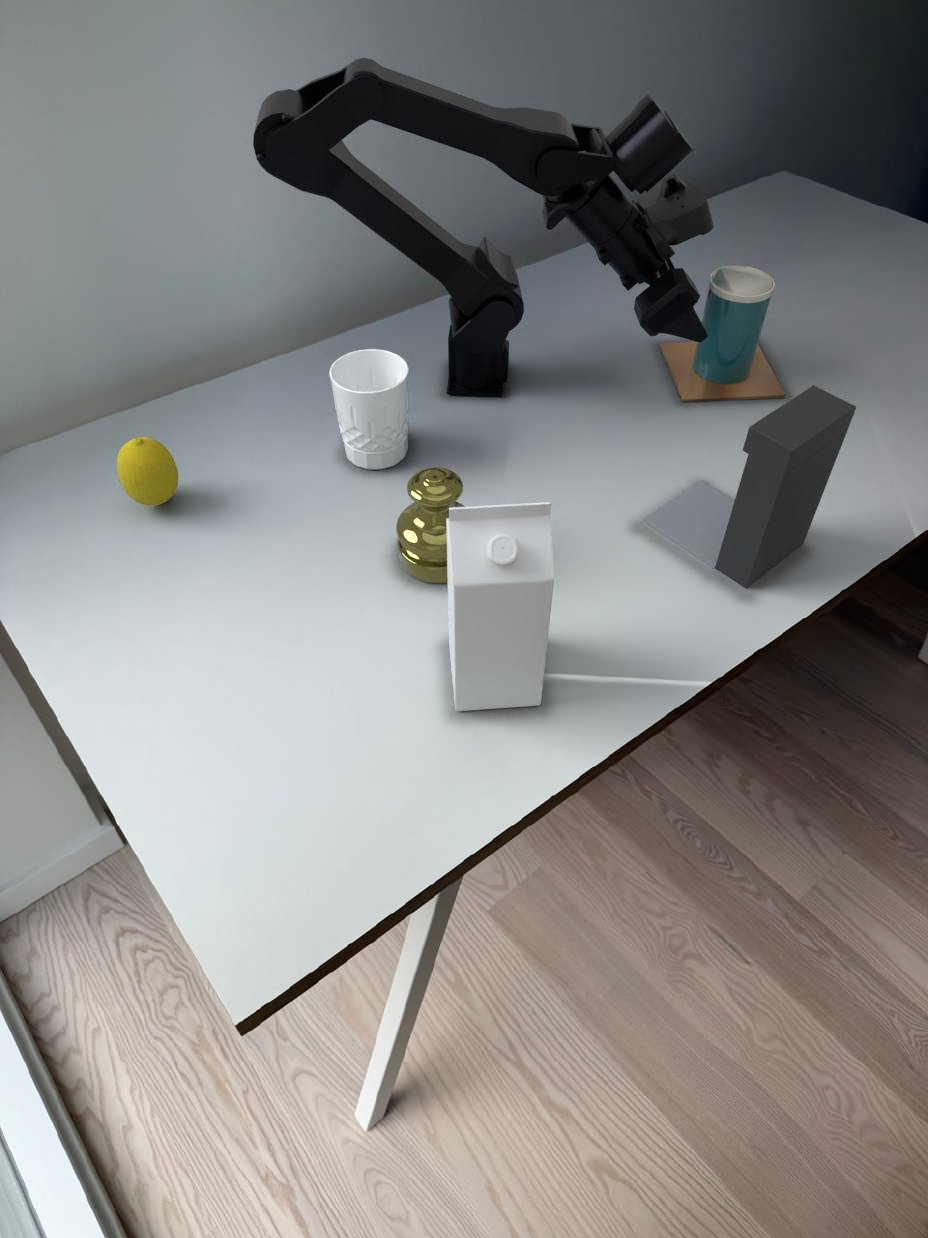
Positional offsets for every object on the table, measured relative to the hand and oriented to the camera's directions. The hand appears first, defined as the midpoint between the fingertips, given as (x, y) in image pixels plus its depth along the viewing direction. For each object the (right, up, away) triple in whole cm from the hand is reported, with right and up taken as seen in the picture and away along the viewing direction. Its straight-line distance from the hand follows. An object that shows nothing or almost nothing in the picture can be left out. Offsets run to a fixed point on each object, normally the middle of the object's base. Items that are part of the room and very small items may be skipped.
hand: (694, 317), depth 101 cm
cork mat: (+5, -5, +6) cm, 8 cm away
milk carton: (-24, -39, -25) cm, 52 cm away
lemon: (-57, -23, -10) cm, 62 cm away
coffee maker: (-1, -26, -14) cm, 30 cm away
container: (+5, -4, +5) cm, 8 cm away
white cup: (-36, -16, -5) cm, 39 cm away
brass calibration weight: (-29, -28, -16) cm, 43 cm away
